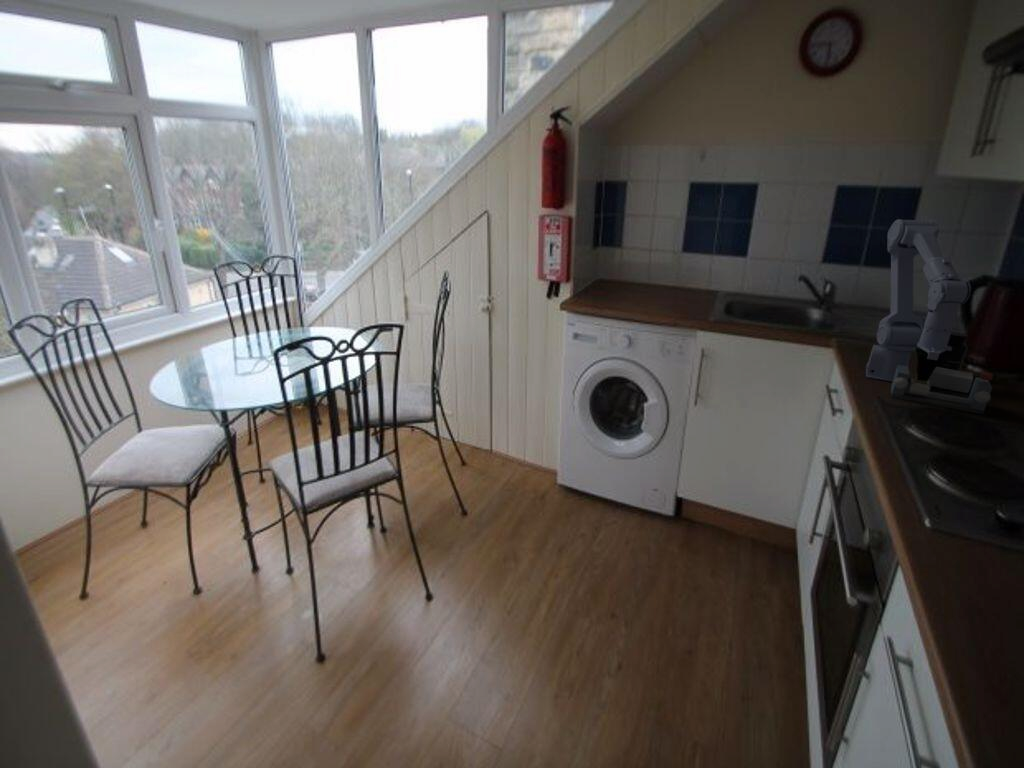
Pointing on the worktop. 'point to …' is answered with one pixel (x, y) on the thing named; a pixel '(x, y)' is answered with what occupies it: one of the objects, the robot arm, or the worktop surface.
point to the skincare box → (951, 379)
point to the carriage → (919, 387)
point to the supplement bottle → (954, 352)
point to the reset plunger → (986, 376)
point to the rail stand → (971, 404)
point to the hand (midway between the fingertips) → (921, 378)
